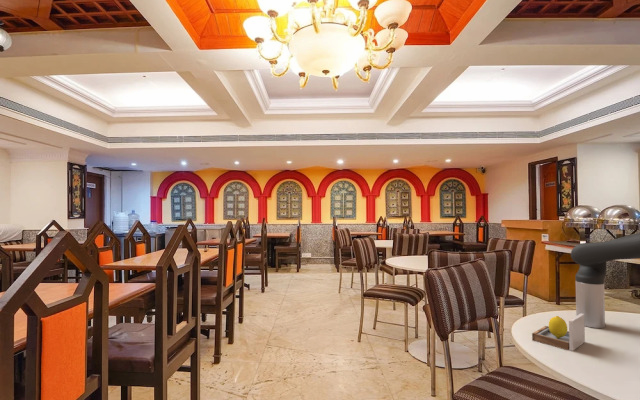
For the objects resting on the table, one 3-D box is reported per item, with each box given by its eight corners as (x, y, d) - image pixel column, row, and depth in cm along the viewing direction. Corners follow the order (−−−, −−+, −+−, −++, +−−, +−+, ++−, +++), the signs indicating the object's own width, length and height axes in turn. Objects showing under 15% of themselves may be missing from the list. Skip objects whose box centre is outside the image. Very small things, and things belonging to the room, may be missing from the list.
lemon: (570, 342, 119) (570, 319, 119) (552, 340, 120) (552, 317, 120) (563, 336, 124) (562, 314, 124) (546, 334, 125) (545, 313, 125)
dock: (545, 332, 131) (545, 325, 131) (580, 341, 122) (580, 334, 122) (532, 340, 123) (532, 333, 123) (568, 350, 114) (568, 343, 114)
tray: (548, 332, 130) (548, 306, 130) (584, 341, 121) (584, 314, 121) (535, 340, 122) (535, 313, 122) (573, 350, 113) (572, 321, 113)
